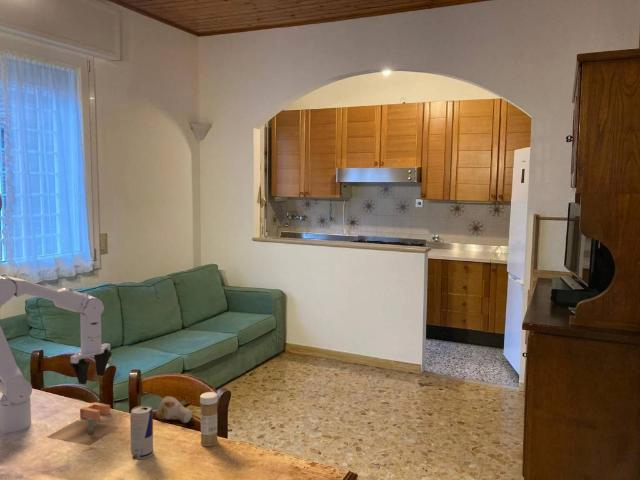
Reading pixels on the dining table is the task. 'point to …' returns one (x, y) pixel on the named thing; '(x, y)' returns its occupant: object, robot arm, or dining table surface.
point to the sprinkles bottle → (208, 418)
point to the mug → (173, 410)
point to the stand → (82, 432)
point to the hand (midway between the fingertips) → (91, 379)
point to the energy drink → (141, 432)
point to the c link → (94, 410)
